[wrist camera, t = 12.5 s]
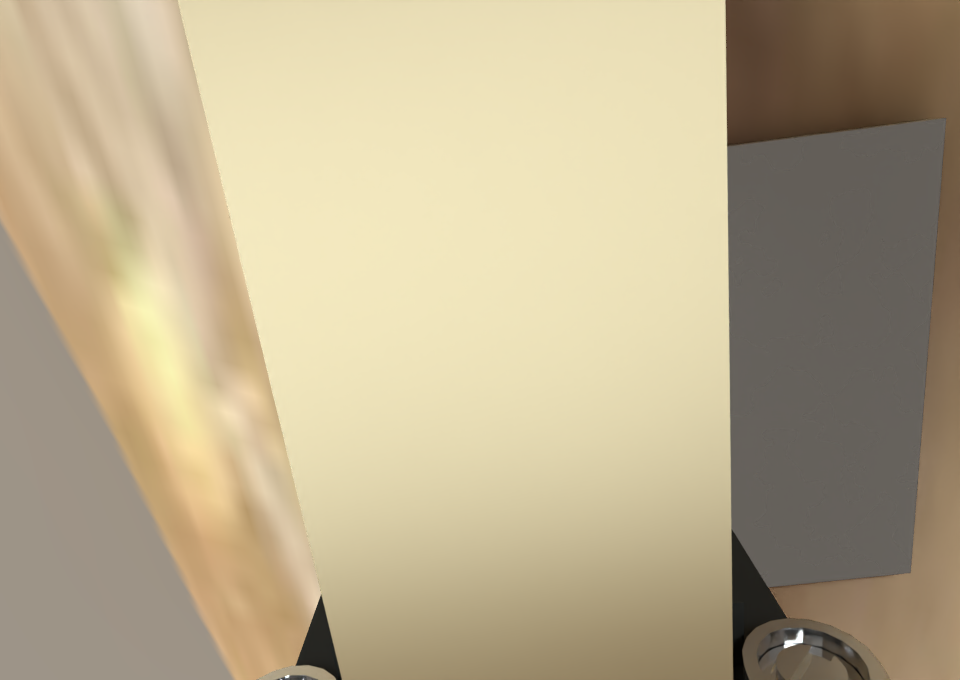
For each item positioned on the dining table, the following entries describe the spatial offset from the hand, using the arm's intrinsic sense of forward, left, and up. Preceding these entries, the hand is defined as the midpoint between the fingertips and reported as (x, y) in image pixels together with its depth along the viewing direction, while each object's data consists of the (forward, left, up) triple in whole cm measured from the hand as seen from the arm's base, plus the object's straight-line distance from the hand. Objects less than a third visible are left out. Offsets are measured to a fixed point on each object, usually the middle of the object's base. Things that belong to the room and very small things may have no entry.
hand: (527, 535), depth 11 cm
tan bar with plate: (0, 0, -1) cm, 1 cm away
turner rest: (+6, +14, -20) cm, 25 cm away
